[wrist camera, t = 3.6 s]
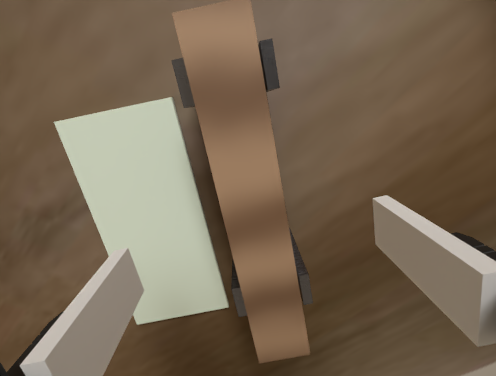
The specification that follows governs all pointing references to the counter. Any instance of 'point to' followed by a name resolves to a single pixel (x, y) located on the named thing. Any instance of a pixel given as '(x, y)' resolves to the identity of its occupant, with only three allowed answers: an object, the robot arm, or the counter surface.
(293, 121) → the counter surface
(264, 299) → the rail
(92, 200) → the mat
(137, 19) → the counter surface
